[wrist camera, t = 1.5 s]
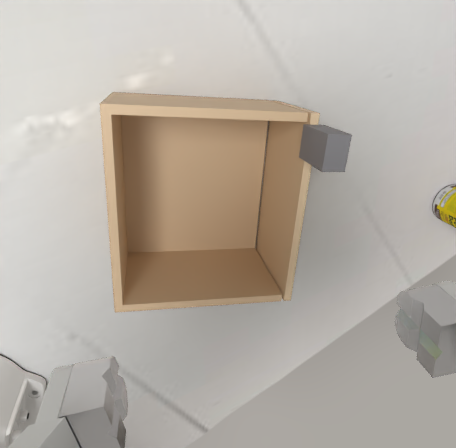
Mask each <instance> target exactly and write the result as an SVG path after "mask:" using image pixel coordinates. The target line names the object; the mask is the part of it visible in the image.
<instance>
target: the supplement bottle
mask: <svg viewBox="0 0 456 448" xmlns="http://www.w3.org/2000/svg"><path fill="white" fill-rule="evenodd" d="M433 212H434V214H435V215H436V217H438V218H439V219H441V220H442V221H444V222H446V223H448V224H450V225H452V226H453V227H455V228H456V185H450V186H448V187H446V188H444V189H443V190H441V191H440V192H439V193H438V195H437V196H436V198H435V200H434V203H433Z"/></svg>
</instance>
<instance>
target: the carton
mask: <svg viewBox="0 0 456 448" xmlns="http://www.w3.org/2000/svg"><path fill="white" fill-rule="evenodd" d="M100 113H101V127H102V141H103V155H104V169H105V183H106V197H107V211H108V225H109V239H110V253H111V266H112V280H113V294H114V308H115V312H128V311H142V310H157V309H171V308H186V307H201V306H215V305H230V304H244V303H259V302H273V301H281V299H282V294H281V292H280V290H279V289H278V287H277V285H276V283H275V282H274V280H273V278H272V277H271V275H270V273H269V271H268V270H267V268H266V266H265V264H264V263H263V261H262V259H261V258H260V256H259V254H258V252H257V251H256V249H255V243H256V234H257V224H258V214H259V205H260V195H261V185H262V176H263V166H264V156H265V146H266V137H267V127H268V121H293V122H307V118H308V113H307V112H304V111H301V110H298V109H295V108H291V107H288V106H285V105H282V104H279V103H276V102H272V101H269V100H255V99H235V98H216V97H196V96H176V95H157V94H137V93H117V92H112V93H111V94H110V95H109V96H108V97H107V98H106V99H104V100H103V101H102V102H101V103H100Z"/></svg>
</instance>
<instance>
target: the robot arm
mask: <svg viewBox="0 0 456 448" xmlns="http://www.w3.org/2000/svg"><path fill="white" fill-rule="evenodd" d="M397 304H398V305H399V307H400V308H401V309H400V310H399V311H398V313H397V314H396V315H395V327H396V331H397V334H398V336H399V338H400V339H401V341H402V342H403V343H404V345H405V346H406V347H407V348H409V349H411V350H414V351H416V352H417V360H418V361H419V362H420V364H421V365H422V366H423V367H424V368H425V369H426V371H427V372H428V373H429V374H430V375H431V377H432V378H434V377H439V376H443V375H448V374H452V373H456V283H455V282H453V281H450V280H447V281H443V282H439V283H435V284H432V285H428V286H424V287H419V288H414V289H410V290H406V291H402V292H400V293H399V294H398V296H397ZM118 369H119V365H118V363H117V360H116V358H115V357H113V356H111V357H106V358H101V359H96V360H91V361H86V362H81V363H76V364H73V365H68V366H62V367H57V368H55V369H54V371H53V372H52V373H51V376H50V379H49V382H48V385H47V388H46V380H45V379H44V378H43V377H41V376H38V375H36V374H33V373H29V372H26V371H24V370H23V369H21V368H20V367H19V366H17V365H16V364H15V363H13V362H12V361H10V360H9V359H7V358H5V357H3V356H0V448H124V447H125V436H126V429H125V427H124V424H123V420H124V418H125V417H126V416H127V411H128V399H127V390H126V385H125V382H124V379H123V378H122V377H121V376H119V375H118Z"/></svg>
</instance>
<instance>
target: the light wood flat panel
mask: <svg viewBox="0 0 456 448" xmlns="http://www.w3.org/2000/svg"><path fill="white" fill-rule="evenodd" d="M272 102H276V103H279V104H282V105H285V106H288V107H291V108H295V109H298V110H301V111H304V112H307V113H308V118H307V122H293V121H269V128H268V137H267V147H266V157H265V166H264V176H263V185H262V195H261V205H260V214H259V224H258V233H257V243H256V251H257V252H258V254H259V256H260V258H261V259H262V261H263V263H264V264H265V266H266V268H267V270H268V271H269V273H270V275H271V277H272V278H273V280H274V282H275V283H276V285H277V287H278V289H279V290H280V292H281V294H282V299H283V300H284V301H288V300H291V295H292V288H293V282H294V275H295V269H296V263H297V256H298V250H299V243H300V237H301V230H302V224H303V218H304V211H305V205H306V198H307V192H308V186H309V179H310V173H311V166H313V167H315V168H317V169H318V170H320V171H321V172H345V167H346V162H347V157H348V152H349V146H350V141H351V136H352V135H351V134H348V133H345V132H342V131H340V130H337V129H334V128H331V127H328V126H326V125H318V121H319V115H320V113H317V112H314V111H310V110H307V109H304V108H300V107H297V106H293V105H290V104H287V103H283V102H280V101H272Z"/></svg>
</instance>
